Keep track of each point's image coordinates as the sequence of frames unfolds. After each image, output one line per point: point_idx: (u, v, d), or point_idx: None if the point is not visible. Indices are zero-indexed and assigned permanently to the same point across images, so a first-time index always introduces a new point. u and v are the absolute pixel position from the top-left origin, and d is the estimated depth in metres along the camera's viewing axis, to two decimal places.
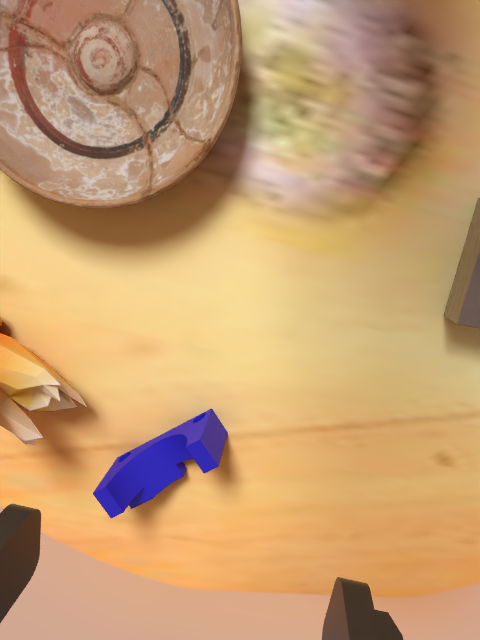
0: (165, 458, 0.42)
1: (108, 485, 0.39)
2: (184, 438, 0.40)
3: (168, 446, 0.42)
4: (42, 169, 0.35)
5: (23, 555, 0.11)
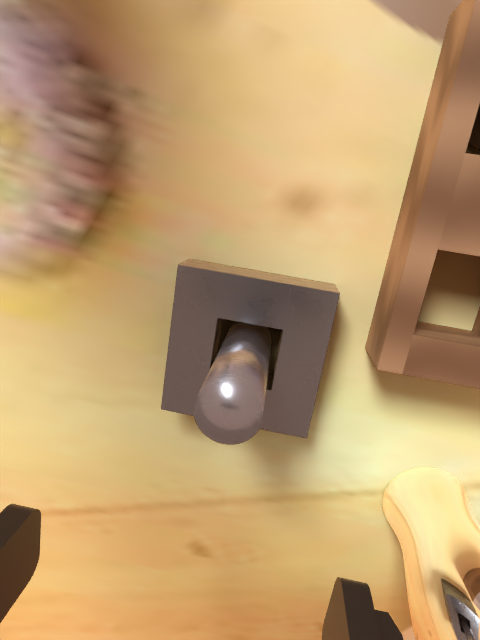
0: None
1: None
2: None
3: None
4: None
5: (23, 555, 0.11)
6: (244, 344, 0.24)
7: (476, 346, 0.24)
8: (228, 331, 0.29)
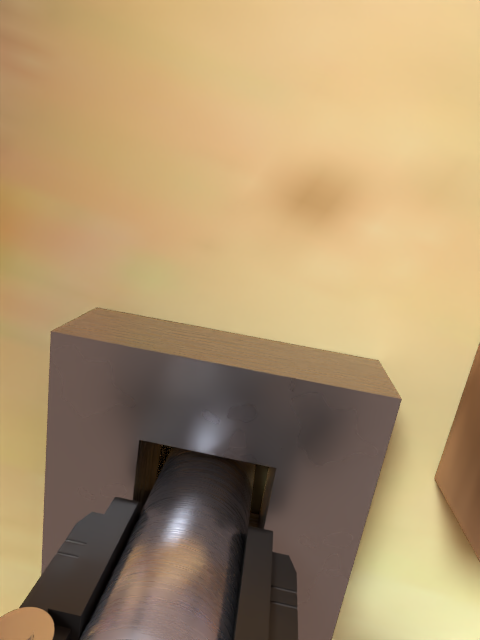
0: None
1: None
2: None
3: None
4: None
5: None
6: (182, 534, 0.10)
7: None
8: None
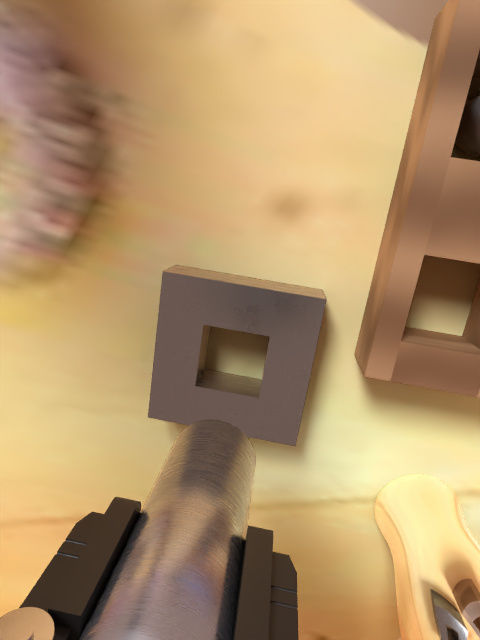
0: None
1: None
2: None
3: None
4: None
5: None
6: (182, 535, 0.10)
7: (465, 352, 0.24)
8: (172, 446, 0.15)
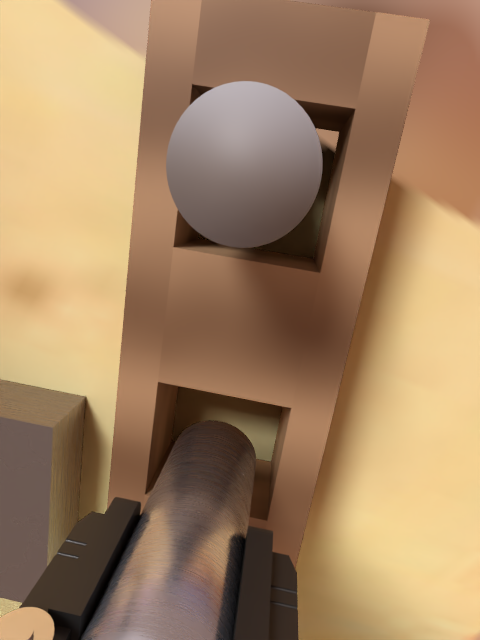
0: None
1: None
2: None
3: None
4: None
5: None
6: (182, 536, 0.10)
7: None
8: (173, 447, 0.15)
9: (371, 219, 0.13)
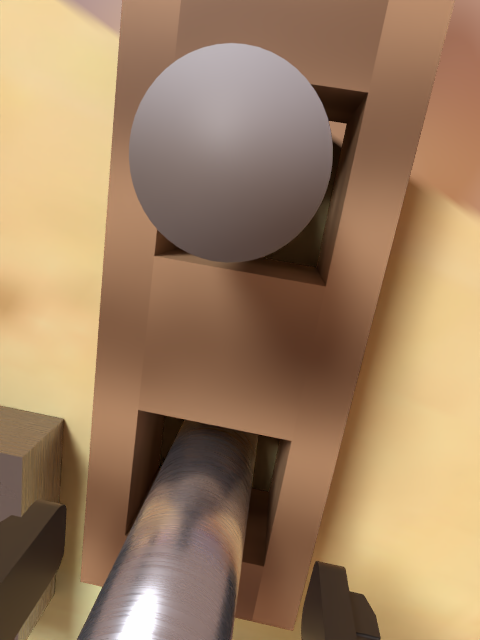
0: None
1: None
2: None
3: None
4: None
5: (50, 549, 0.11)
6: (198, 481, 0.12)
7: None
8: None
9: (386, 224, 0.11)
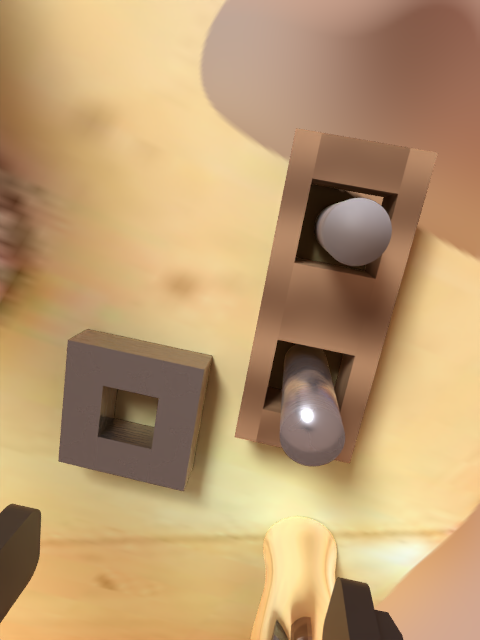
0: None
1: None
2: None
3: None
4: None
5: (23, 555, 0.11)
6: (313, 369, 0.25)
7: None
8: (287, 354, 0.31)
9: (404, 250, 0.25)
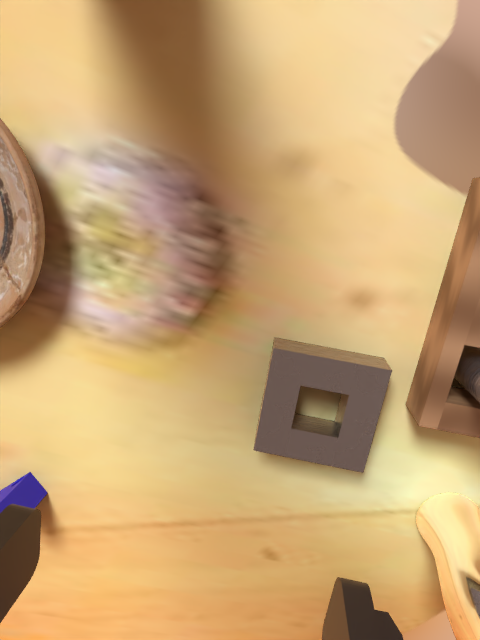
0: None
1: None
2: None
3: None
4: None
5: (23, 555, 0.11)
6: None
7: None
8: None
9: None
